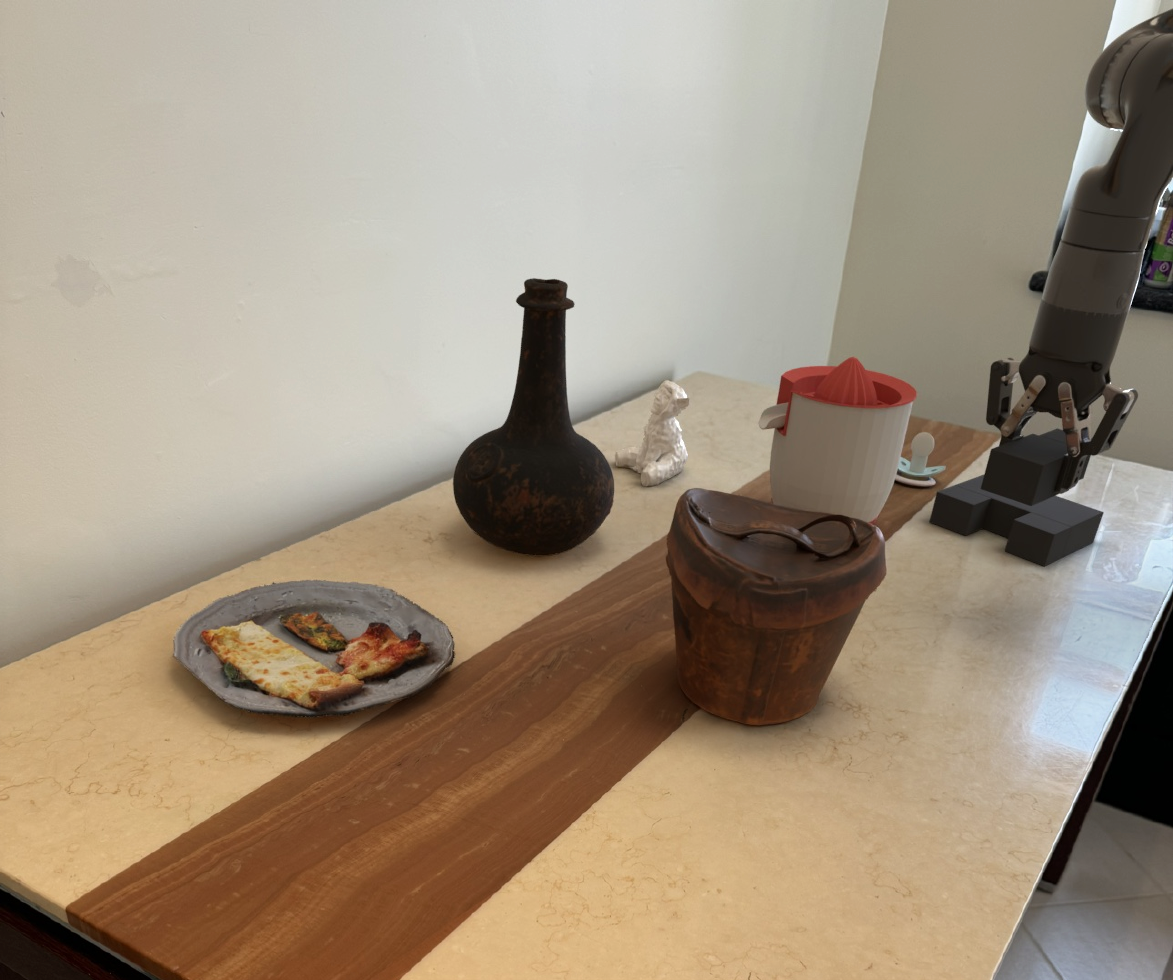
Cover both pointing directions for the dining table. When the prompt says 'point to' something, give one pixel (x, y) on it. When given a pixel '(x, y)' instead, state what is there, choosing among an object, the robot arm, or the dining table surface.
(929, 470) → the pacifier
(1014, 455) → the pad
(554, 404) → the glass bottle
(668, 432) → the seated beast figurine
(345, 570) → the dining table surface
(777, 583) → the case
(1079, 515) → the socket pad
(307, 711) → the food plate
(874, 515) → the citrus juicer
